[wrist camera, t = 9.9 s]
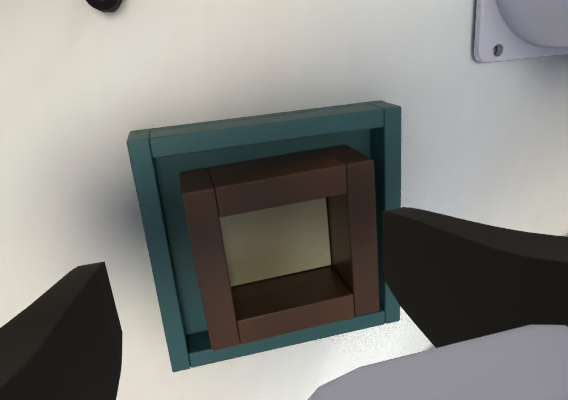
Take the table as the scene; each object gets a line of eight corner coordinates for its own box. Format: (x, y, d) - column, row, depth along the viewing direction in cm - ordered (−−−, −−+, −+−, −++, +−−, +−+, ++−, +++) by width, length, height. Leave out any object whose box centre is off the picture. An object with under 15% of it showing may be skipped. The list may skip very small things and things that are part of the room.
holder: (381, 100, 21) (402, 106, 19) (382, 300, 25) (400, 321, 23) (129, 131, 19) (126, 141, 17) (171, 345, 23) (172, 372, 21)
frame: (346, 143, 21) (374, 159, 18) (354, 279, 24) (380, 311, 21) (178, 171, 20) (181, 193, 17) (205, 313, 22) (212, 352, 19)
